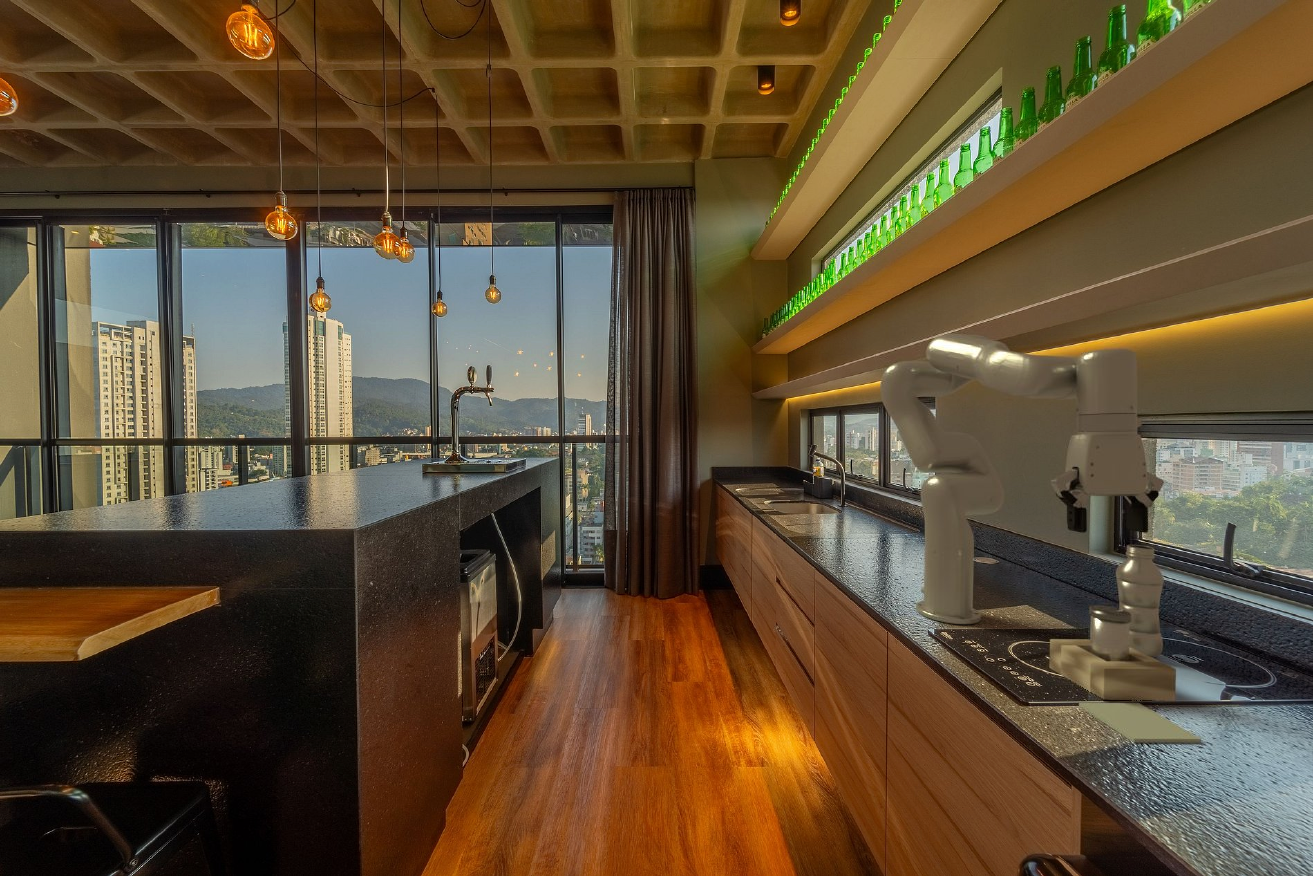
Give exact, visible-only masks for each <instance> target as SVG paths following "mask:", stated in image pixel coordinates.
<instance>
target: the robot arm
mask: <svg viewBox="0 0 1313 876" xmlns="http://www.w3.org/2000/svg"><path fill="white" fill-rule="evenodd" d="M925 357H926V360H927V361H923V360H921V361H920V360H905V361H898V362H896V363H893V364H891V365H889V366H888V367H887V368H886V369H885V370H884V372H883V374H882V376H881V381H880V387H879V390H880V397H881V401H882V404H883V406H884V408H885V409H886V412H887V413H888V415H889V416H890V418H891V419H892V421H893V423H894V424H895V426H896V429H897V430H898V432H899V436H900V437H901V440H902V442H903V444H904V447H905V449H906V451H907V453H908V456H909V457H910V460H911V462H912V463H913V465H914V466H915V468H916V469H917V470H918V471H920V472H923V473H936V474H933V475H931V476H930V477H928V478H927V479H925V480H924V482H923V483H922V485H921V487H920V501H921V506H922V511H923V519H924V566H923V567H924V572H923V573H924V575H923V577H924V578H923V580H924V581H923V587H921V588H920V592H921V594H923V600H921V601H919V602H916V603H915V604H916V606H915V609H916V612H918V613H919V614H920V615H921V616H923V617H926V618H928V619H930V620H934V621H937V622H941V623H943V622H944V623H948V624H956V625H971V624H977V623H979V622H980V621H981V619H982V615H981V613H980V611H978V610H977V609H975V608H973V606H974V605H973V602H974V601H973V600H974V597H973V596H974V565H975V563H974V561H975V559H974V558H975V557H974V555H975V553H974V551H975V549H974V548H975V545H974V544H975V538H974V533H973V529H972V527H971V525H970V523H969V522H968V519H967V516H981V515H982V516H983V515H990V514H993V513H996V512H997V511H999V510H1000V509H1001V508H1002V507H1003V504H1004V502H1005V490H1004V487H1003V483H1002V482H1001V480H1000V478H999V476H998V474H997V471H996V470H995V468H994V467H993V464H992V462H991V461H990V459H989V457H988V455H987V453H986V451H985V449H984V448H983V446H982V444H981V443H980V442H979V440H978V439H976V437H974V436H972V435H970V434H969V433H966V432H965V433H964V432H961V431H959V432H958V431H945V430H943V428H941V426H940V423H938V421H937V419H936V417H935V415H934V413H933V411H932V410H931V409H930V408H929V407H928V406H927V405H925V403H924V402H922V401H921V400H920V399H918V397H923V398H924V397H926V398H929V397H930V398H931V397H933V398H934V397H935V398H936V397H938V398H941V397H942V398H944V397H947V396H951V395H953V394H954V393H955V392H958V391H959V390H960V389H962V388H963V387H964V386H966V385H968V384H970V383H971V382H973V381H976V382H979V383H980V384H981V385H983V386H984V387H986V388H987V389H990V390H993V391H997V392H1000V393H1004V394H1008V395H1012V396H1015V397H1020V398H1024V399H1025V398H1026V399H1044V400H1045V399H1047V400H1049V399H1050V400H1051V399H1052V400H1074V399H1075V400H1076V434H1071V437H1070V440H1069V443H1068V447H1067V452H1066V453H1067V454H1066V459H1065V470H1064V472H1063V473H1061V474H1060V475H1058V476H1055V477H1054V478H1051V480H1050V485H1051V487H1052V489H1053V490H1054V491H1055V496H1056V497H1057V498H1058V499H1059V500H1060V501H1061V503H1062V505H1063V506H1066V524H1067V530H1069V531H1070V532H1075V533H1076V532H1077V533H1083V534H1084V533H1086V532H1087V530H1088V528H1087V527H1088V525H1087V524H1088V520H1087V519H1088V511H1087V510H1088V509H1087V508H1086V507H1083V506H1084V505H1085V503H1086V502H1087V501H1088V500H1089V499H1090V498H1091V496H1092V497H1093V496H1094V497H1124V498H1125V499H1126V500H1127V501H1128V503H1129V504H1130V505H1126V529H1127V530H1128V531H1133V532H1137V533H1148V532H1149V508H1152V507H1153V505H1154V501H1155V500H1157V498H1159V495H1160V493H1161V492H1160V491H1161V489H1162V487H1163V486H1164V484H1165V482H1164V480H1163V479H1162V478H1160V477H1159V476H1158V477H1157V476H1156V475H1154V474H1153V473H1150V472H1149V471H1147V470H1148V469H1147V468H1148V467H1147V459H1146V452H1145V448H1144V447H1145V446H1144V443H1143V440H1142V437H1141V434H1138V428H1140V427H1141V426H1142V425H1143V423H1142V420H1141V419H1139V418H1138V366H1137V365H1138V360H1137V359H1138V358H1137V355H1136V353H1135V352H1134V351H1133V350H1131V349H1128V348H1104V349H1098V350H1097V349H1096V350H1091V351H1087V352H1084V353H1082V354H1080V355H1079V356H1058V355H1043V354H1042V355H1040V354H1029V353H1023V352H1017V351H1012V350H1010V349H1009V347H1008V346H1007V345H1006V343H1004V342H1002V341H998V340H993V339H990V338H989V337H986V336H984V335H979V334H965V333H944V334H941V335H938V336H936V337H935V338H933V339H932V340H931V341H930V342H929V344H928V345H927V347H926V350H925ZM1159 492H1160V493H1159Z"/></svg>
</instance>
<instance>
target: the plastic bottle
mask: <svg viewBox="0 0 1313 876" xmlns="http://www.w3.org/2000/svg"><path fill="white" fill-rule="evenodd" d="M1125 555H1126V556H1127V557H1126V559H1125V560H1124V561H1123V562H1121V563H1120V565H1118V567H1117V568H1116V571H1115V577H1116V584H1117V591H1118V601H1119V602H1118V605H1119V608H1118V609H1122V610H1125V611H1127V612H1129V613H1131V614H1132V621H1131V622H1130V632H1129V647H1130V648H1132V649H1134V650H1136V651H1139V652H1141V653H1143V654H1145V655H1147V656H1149V657H1151V658H1158V657H1159V656H1160V655H1161V654H1162V652H1163V648H1164V643H1163V637H1162V633H1161V628H1160V626H1161V625H1160V618H1159V613H1160V604H1161V603H1160V602H1161V594H1162V590H1163V586H1164V582H1165V581H1164V576H1163V574H1162V571H1161V570H1160V569H1159V568H1158V566H1157V565H1156V564H1155V563H1154V562H1153V560H1154V559H1155V548H1154V547H1152V546H1147V545H1139V544H1127V545H1126V552H1125Z"/></svg>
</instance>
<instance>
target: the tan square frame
mask: <svg viewBox="0 0 1313 876" xmlns="http://www.w3.org/2000/svg"><path fill="white" fill-rule="evenodd" d="M1048 665H1049V666H1048V667H1049V668H1050V669H1051V670H1052V671H1054V672H1056V673H1057V674H1059V675H1060V676H1062V677H1064V678H1066V679H1067V680H1068V681H1070V680H1071V682H1072V683H1073V684H1075V683H1076V686H1078V685H1079V686H1078V687H1080V686H1081V687H1080V688H1082V687H1083V688H1084V690H1085V689H1086V690H1085V691H1087V690H1088V691H1089V692H1088V691H1087V692H1088V693H1090V692H1092V693H1093V694H1096V695H1097V696H1099V697H1101V698H1103V699H1108V700H1109V699H1110V700H1132V701H1131V702H1143V701H1142V700H1161V701H1160V702H1176V689H1177V688H1176V686H1177V685H1176V683H1177V669H1176V668H1175V667H1172V666H1170V665H1168V664H1166V663H1164V662H1162V661H1160V660H1157V659H1155V657H1153V658H1151V657H1149V656H1147V655H1145V654H1143V653H1141V652H1139V651H1136V650H1134V649H1132V648H1130V647H1129V662H1128V661H1105V660H1103V659H1101V658H1099V657H1097V656H1095V655H1093V654H1092V653H1090V639H1086V638H1084V639H1082V638H1081V639H1078V638H1075V639H1074V638H1073V639H1072V638H1071V639H1070V638H1069V639H1066V638H1064V639H1063V638H1062V639H1060V638H1058V639H1057V638H1051V639H1050V638H1049V664H1048ZM1083 688H1082V689H1083ZM1093 694H1092V695H1093ZM1134 700H1135V701H1134ZM1136 700H1137V701H1136ZM1140 700H1141V701H1140ZM1163 700H1164V701H1163Z"/></svg>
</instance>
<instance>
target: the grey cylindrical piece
mask: <svg viewBox="0 0 1313 876" xmlns="http://www.w3.org/2000/svg"><path fill="white" fill-rule="evenodd" d="M1088 609H1089V613H1088V614H1089V615H1090V629H1089V630H1090V632H1089V634H1090V653H1092V654H1093V655H1095V656H1097V657H1099V658H1101V659H1103V660H1105V661H1128V662H1129V632H1130V622H1131V621H1132V614H1131V613H1129V612H1127V611H1125V610H1122V609H1119V608H1117V607H1113V606H1107V605H1090V606H1089V608H1088Z"/></svg>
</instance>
